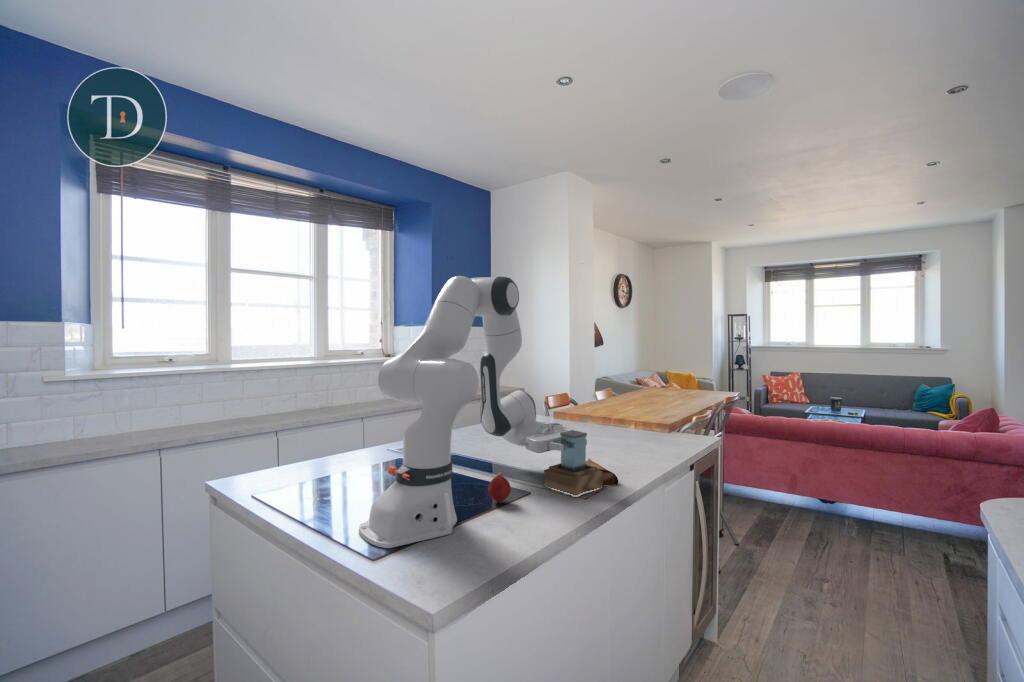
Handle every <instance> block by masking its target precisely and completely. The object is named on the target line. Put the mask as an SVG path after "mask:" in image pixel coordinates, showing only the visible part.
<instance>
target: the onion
mask: <svg viewBox="0 0 1024 682" xmlns="http://www.w3.org/2000/svg"><path fill="white" fill-rule="evenodd" d="M487 488H488V489H487V490H488V494H489V497H490V498H491V499H492V500H493V501H495V502H496V503H498V502H501V503H503V501H505V500H506V499H507V498H509V496H510V494H511V490H512V489H511V488H512V487H511V484H510V482H509V480H507V478H506V477H504V476H503V472H498V474H496V476H495V477H493V478H492V479H491V480H490V482H489V485H488V487H487Z"/></svg>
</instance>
